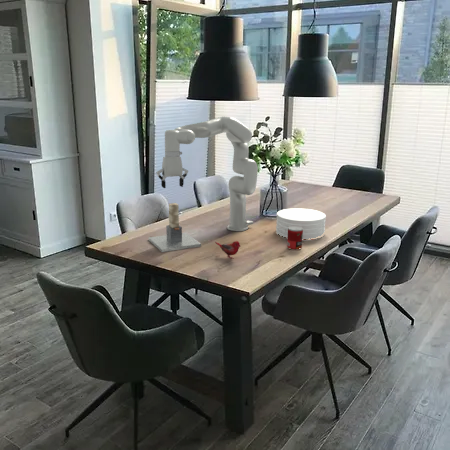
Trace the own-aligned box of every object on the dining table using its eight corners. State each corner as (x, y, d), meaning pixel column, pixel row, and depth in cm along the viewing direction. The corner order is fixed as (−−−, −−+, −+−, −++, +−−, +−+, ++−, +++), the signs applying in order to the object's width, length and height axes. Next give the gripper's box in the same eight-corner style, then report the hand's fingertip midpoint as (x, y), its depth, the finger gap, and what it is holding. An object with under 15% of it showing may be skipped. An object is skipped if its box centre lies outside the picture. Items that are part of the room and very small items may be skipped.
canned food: (298, 251, 260) (299, 231, 257) (284, 248, 264) (285, 228, 261) (304, 247, 267) (305, 227, 263) (290, 244, 271) (291, 225, 267)
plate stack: (330, 230, 297) (332, 212, 294) (315, 243, 273) (316, 223, 270) (286, 224, 309) (287, 206, 306) (268, 235, 286) (269, 216, 283)
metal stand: (185, 235, 285) (185, 219, 282) (201, 246, 266) (201, 229, 264) (148, 240, 276) (147, 223, 273) (161, 252, 257) (161, 234, 254)
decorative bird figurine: (238, 262, 244) (238, 242, 241) (212, 253, 255) (212, 235, 252) (242, 260, 246) (242, 241, 243) (216, 252, 257) (216, 233, 254)
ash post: (176, 238, 273) (175, 202, 267) (179, 240, 270) (178, 204, 264) (169, 239, 271) (168, 203, 266) (172, 241, 268) (171, 205, 262)
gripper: (185, 152, 264) (185, 184, 269) (153, 154, 257) (154, 186, 261) (190, 154, 258) (190, 187, 262) (158, 156, 250) (159, 189, 255)
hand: (172, 187), depth 262 cm, fingers open, 9 cm apart
